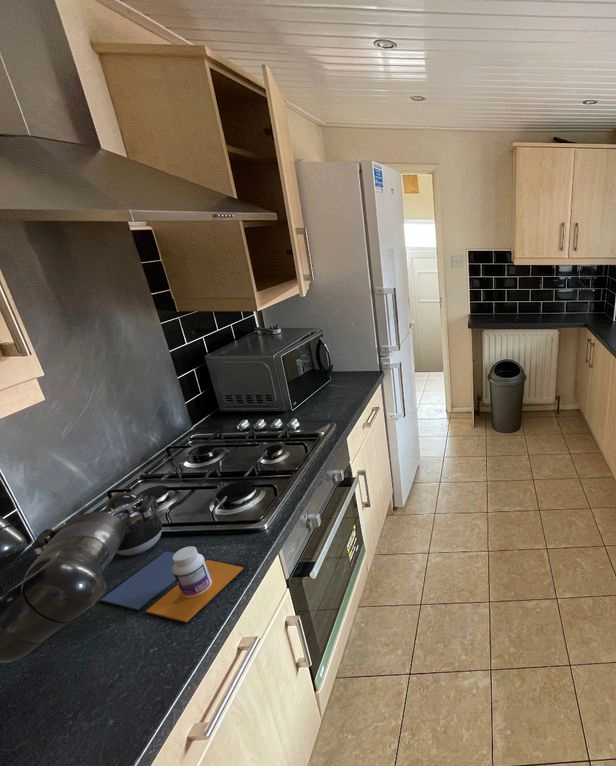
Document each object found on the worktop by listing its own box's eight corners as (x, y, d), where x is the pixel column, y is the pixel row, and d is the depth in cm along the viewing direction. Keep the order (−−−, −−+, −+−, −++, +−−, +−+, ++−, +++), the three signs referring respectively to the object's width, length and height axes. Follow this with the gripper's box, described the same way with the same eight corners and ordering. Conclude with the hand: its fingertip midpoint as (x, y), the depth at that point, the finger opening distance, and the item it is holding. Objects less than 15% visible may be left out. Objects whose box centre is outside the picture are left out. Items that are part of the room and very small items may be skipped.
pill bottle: (186, 582, 91) (173, 547, 87) (215, 575, 93) (203, 540, 89) (178, 602, 86) (164, 566, 82) (208, 594, 88) (196, 558, 84)
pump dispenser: (99, 561, 97) (74, 508, 91) (141, 530, 106) (121, 480, 101) (138, 565, 96) (115, 511, 90) (177, 533, 105) (159, 483, 100)
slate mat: (138, 610, 85) (138, 609, 84) (101, 601, 87) (100, 599, 87) (200, 559, 97) (200, 558, 97) (166, 552, 99) (165, 551, 99)
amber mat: (186, 622, 82) (185, 621, 82) (146, 612, 84) (145, 610, 84) (243, 568, 95) (243, 567, 95) (207, 561, 97) (207, 559, 97)
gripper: (136, 504, 63) (153, 475, 77) (1, 547, 56) (46, 507, 69) (154, 546, 65) (168, 511, 78) (25, 595, 58) (64, 546, 71)
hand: (110, 509), depth 74 cm, fingers open, 8 cm apart
